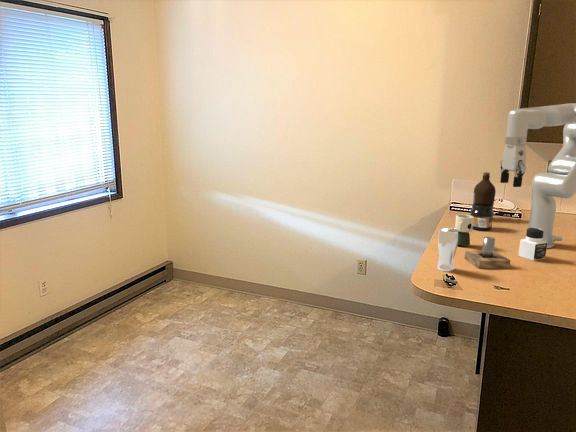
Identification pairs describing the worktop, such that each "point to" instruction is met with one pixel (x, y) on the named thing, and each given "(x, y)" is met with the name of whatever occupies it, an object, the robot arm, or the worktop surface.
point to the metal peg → (488, 247)
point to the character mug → (464, 229)
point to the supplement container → (482, 216)
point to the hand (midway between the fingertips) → (510, 184)
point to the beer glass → (447, 248)
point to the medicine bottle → (533, 245)
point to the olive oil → (484, 191)
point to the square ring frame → (487, 260)
